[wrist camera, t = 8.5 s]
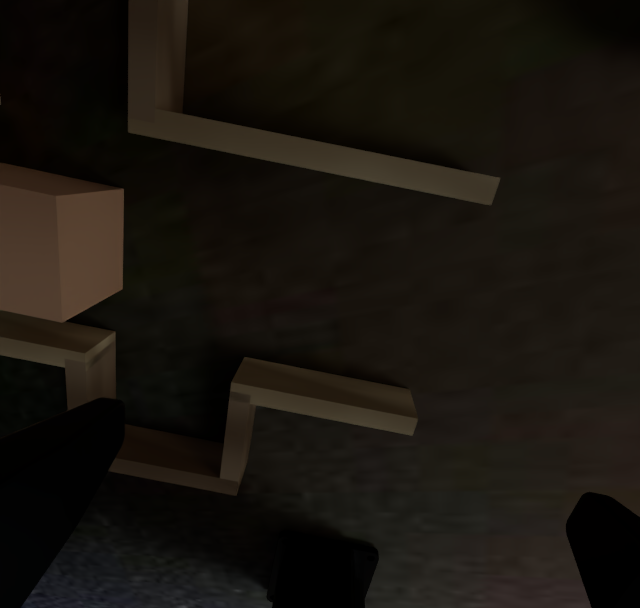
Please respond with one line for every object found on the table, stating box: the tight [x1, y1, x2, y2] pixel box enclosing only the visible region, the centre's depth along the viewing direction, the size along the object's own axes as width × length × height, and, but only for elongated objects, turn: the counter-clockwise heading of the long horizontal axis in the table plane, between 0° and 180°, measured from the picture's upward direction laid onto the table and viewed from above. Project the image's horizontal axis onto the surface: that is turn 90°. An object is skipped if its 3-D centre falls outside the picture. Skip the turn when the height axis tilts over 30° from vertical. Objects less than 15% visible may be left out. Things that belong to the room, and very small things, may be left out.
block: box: [0, 163, 124, 323], centre depth 16 cm, size 5×6×4 cm
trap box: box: [0, 0, 500, 496], centre depth 17 cm, size 24×23×3 cm
